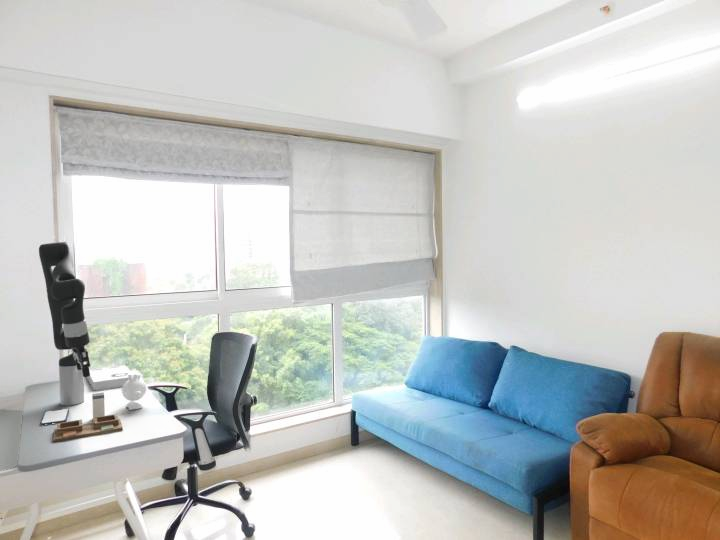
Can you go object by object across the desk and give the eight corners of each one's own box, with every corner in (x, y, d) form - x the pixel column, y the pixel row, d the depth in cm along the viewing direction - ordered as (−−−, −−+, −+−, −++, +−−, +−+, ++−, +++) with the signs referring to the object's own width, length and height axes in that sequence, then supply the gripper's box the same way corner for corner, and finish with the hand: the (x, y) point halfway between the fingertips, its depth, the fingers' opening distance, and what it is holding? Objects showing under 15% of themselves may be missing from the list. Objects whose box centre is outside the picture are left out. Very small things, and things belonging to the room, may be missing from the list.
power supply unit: (124, 373, 274) (124, 364, 274) (136, 386, 247) (136, 376, 247) (86, 378, 263) (86, 369, 263) (94, 392, 236) (93, 382, 236)
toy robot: (118, 405, 213) (117, 371, 213) (141, 401, 219) (140, 368, 219) (127, 413, 202) (126, 378, 201) (151, 409, 208) (150, 374, 207)
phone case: (66, 424, 192) (69, 411, 206) (66, 420, 192) (69, 408, 206) (39, 428, 188) (44, 415, 202) (39, 423, 188) (44, 411, 202)
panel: (54, 431, 182) (54, 423, 182) (119, 420, 193) (119, 413, 193) (53, 442, 171) (53, 433, 171) (122, 430, 183) (122, 422, 183)
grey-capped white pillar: (92, 418, 196) (92, 394, 196) (104, 416, 198) (103, 392, 198) (93, 421, 193) (92, 396, 192) (104, 419, 195) (104, 394, 194)
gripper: (60, 330, 182) (67, 370, 186) (69, 340, 172) (77, 382, 176) (82, 325, 187) (89, 363, 191) (92, 334, 177) (100, 375, 181)
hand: (83, 372), depth 183 cm, fingers open, 8 cm apart
